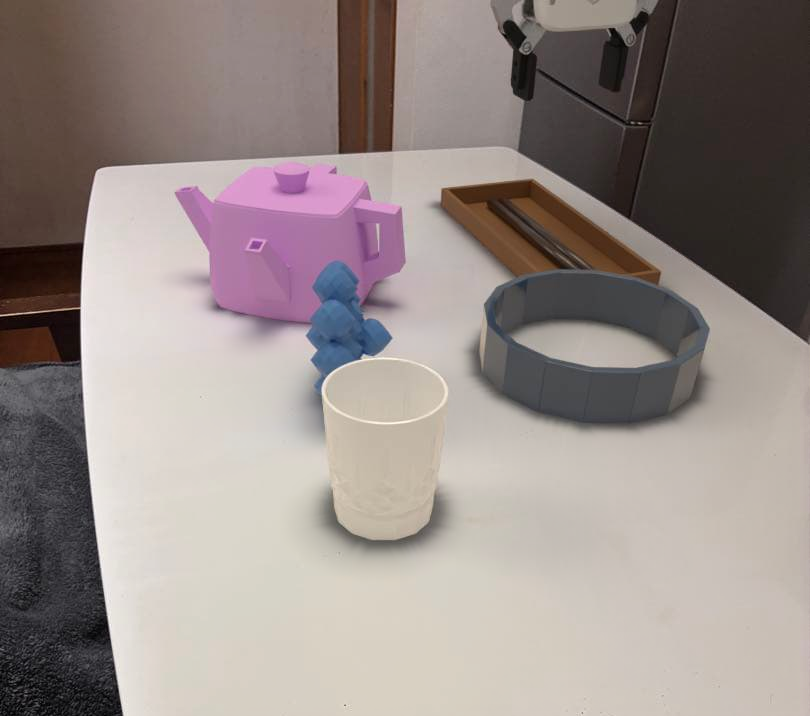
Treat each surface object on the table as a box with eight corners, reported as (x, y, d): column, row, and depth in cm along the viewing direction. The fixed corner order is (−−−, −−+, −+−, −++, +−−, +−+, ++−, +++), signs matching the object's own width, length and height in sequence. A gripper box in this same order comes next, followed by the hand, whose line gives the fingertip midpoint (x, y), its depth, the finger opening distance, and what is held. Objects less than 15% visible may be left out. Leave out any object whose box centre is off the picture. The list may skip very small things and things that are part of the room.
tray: (440, 209, 103) (441, 187, 102) (530, 198, 107) (532, 178, 105) (550, 311, 84) (553, 287, 82) (656, 294, 87) (661, 271, 85)
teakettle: (416, 311, 83) (421, 180, 75) (254, 353, 76) (240, 213, 68) (333, 248, 93) (329, 127, 85) (184, 280, 86) (165, 152, 78)
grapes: (390, 444, 66) (393, 298, 58) (302, 442, 66) (293, 296, 58) (392, 367, 75) (395, 231, 67) (314, 365, 74) (308, 229, 66)
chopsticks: (504, 204, 103) (505, 194, 103) (606, 287, 87) (608, 276, 86) (484, 206, 103) (485, 196, 102) (584, 291, 86) (586, 279, 85)
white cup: (393, 567, 55) (396, 439, 49) (303, 518, 59) (294, 392, 52) (461, 507, 60) (473, 384, 54) (374, 465, 64) (375, 344, 57)
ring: (562, 301, 85) (570, 252, 82) (732, 370, 76) (749, 319, 72) (436, 365, 75) (439, 312, 72) (614, 455, 66) (627, 399, 62)
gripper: (521, -121, 68) (503, 111, 80) (703, -125, 73) (662, 95, 84) (482, -128, 74) (470, 91, 85) (654, -130, 78) (621, 77, 90)
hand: (566, 93), depth 85 cm, fingers open, 9 cm apart
